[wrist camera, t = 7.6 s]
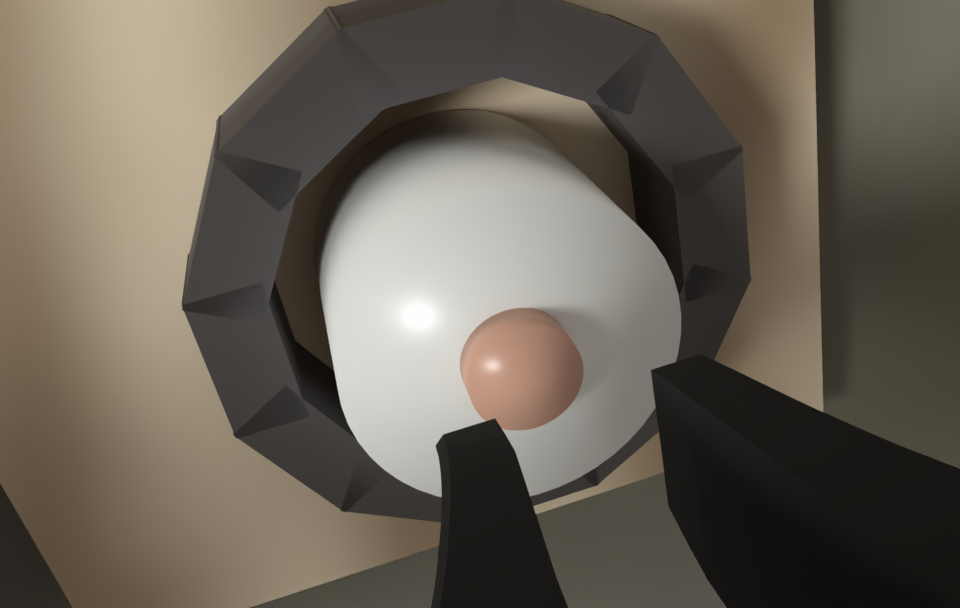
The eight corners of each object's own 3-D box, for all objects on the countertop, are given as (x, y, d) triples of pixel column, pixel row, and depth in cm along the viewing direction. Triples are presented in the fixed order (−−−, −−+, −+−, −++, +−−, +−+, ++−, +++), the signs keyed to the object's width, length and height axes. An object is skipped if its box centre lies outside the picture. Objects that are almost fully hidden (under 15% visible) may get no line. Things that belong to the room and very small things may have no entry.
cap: (350, 398, 17) (385, 567, 13) (280, 147, 15) (296, 261, 11) (601, 331, 18) (706, 473, 14) (573, 80, 15) (691, 164, 11)
